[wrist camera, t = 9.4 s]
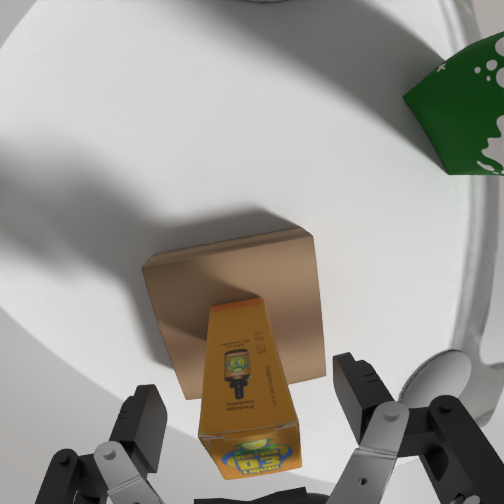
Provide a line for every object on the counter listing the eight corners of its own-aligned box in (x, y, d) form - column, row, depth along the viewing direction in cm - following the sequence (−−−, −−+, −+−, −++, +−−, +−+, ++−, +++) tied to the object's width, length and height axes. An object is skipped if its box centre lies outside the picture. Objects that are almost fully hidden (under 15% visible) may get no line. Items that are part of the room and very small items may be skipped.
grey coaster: (406, 368, 24) (408, 371, 23) (475, 339, 24) (478, 341, 24) (396, 428, 26) (398, 431, 26) (459, 400, 26) (461, 402, 26)
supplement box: (221, 352, 19) (217, 485, 9) (209, 304, 18) (191, 431, 8) (273, 343, 19) (305, 472, 9) (265, 294, 18) (299, 416, 8)
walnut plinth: (153, 254, 20) (141, 267, 17) (301, 227, 20) (313, 236, 17) (190, 375, 22) (185, 399, 19) (316, 353, 23) (326, 375, 20)
